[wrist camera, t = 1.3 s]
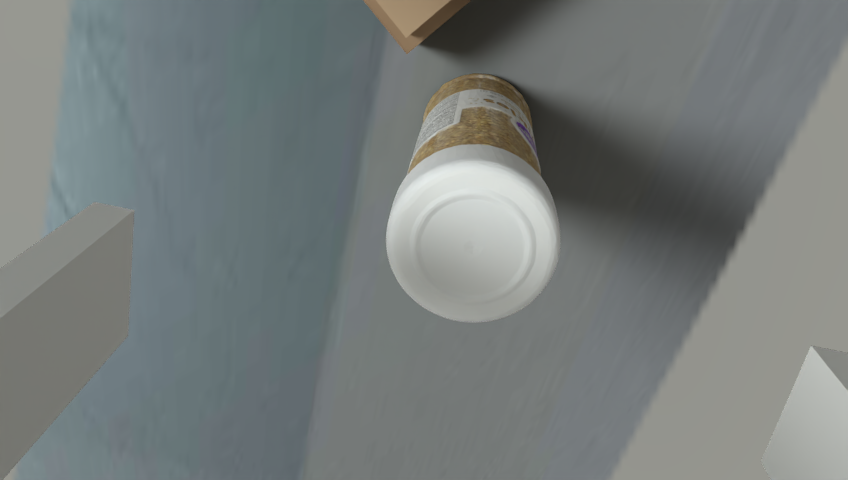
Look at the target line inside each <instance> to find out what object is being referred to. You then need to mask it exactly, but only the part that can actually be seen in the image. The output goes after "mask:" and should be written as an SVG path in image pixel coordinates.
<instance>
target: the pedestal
mask: <svg viewBox="0 0 848 480" xmlns="http://www.w3.org/2000/svg"><path fill="white" fill-rule="evenodd" d="M363 1H364V2H365V3H366V4H367V5H368V7H369V8H370V9H371V10H372V12H373V13H374V14H375V15H376V17H377V18H378V19H379V20H380V22H381V23H382V24H383V25H384V26H385V28H386V29H387V30H388V31H389V33H390V34H391V35H392V36H393V38H394V39H395V40H396V41H397V43H398V44H399V45H400V46H401V48H402V49H403V50H404V51H405V52H406V54H408V53H409V52H410V51H411V50H412V49H414V48H415V47H416V46H417V45H418V44H420V43H421V42H422V41H423V40H424V39H426V38H427V37H428V36H429V35H430V34H432V33H433V32H434V31H435V30H436V29H438V28H439V27H440V26H441V25H442V24H444V23H445V22H446V21H447V20H448V19H450V18H451V17H452V16H453V15H454V14H455V13H457V12H458V11H459V10H460V9H461V8H463V7H464V6H465V5H466V4H467V3H469V2H470V1H471V0H363Z"/></svg>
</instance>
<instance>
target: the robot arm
mask: <svg viewBox="0 0 848 480" xmlns="http://www.w3.org/2000/svg"><path fill="white" fill-rule="evenodd" d="M133 225H134V210H131V209H126V208H121V207H116V206H111V205H106V204H101V203H96V202H94V203H93V204H91V205H90V206H88V207H87V208H85V209H84V210H83V211H81V212H80V213H78V214H77V215H75V216H74V217H73V218H71V219H70V220H68V221H67V222H65V223H64V224H63V225H61V226H60V227H58V228H57V229H55V230H54V231H53V232H51V233H50V234H48V235H47V236H45V237H44V238H43V239H41V240H40V241H38V242H37V243H36V244H34V245H33V246H31V247H30V248H28V249H27V250H26V251H24V252H23V253H21V254H20V255H18V256H17V257H16V258H14V259H13V260H11V261H10V262H8V263H7V264H6V265H4V266H3V267H1V268H0V480H3V479H4V478H5V476H6V475H7V474H8V473H9V472H10V471H11V470H12V469H13V467H14V466H15V465H16V464H17V463H18V462H19V461H20V459H21V458H22V457H23V456H24V455H25V454H26V452H27V451H28V450H29V449H30V448H31V447H32V446H33V444H34V443H35V442H36V441H37V440H38V439H39V438H40V436H41V435H42V434H43V433H44V432H45V431H46V429H47V428H48V427H49V426H50V425H51V424H52V423H53V421H54V420H55V419H56V418H57V417H58V416H59V415H60V413H61V412H62V411H63V410H64V409H65V408H66V406H67V405H68V404H69V403H70V402H71V401H72V400H73V398H74V397H75V396H76V395H77V394H78V393H79V392H80V390H81V389H82V388H83V387H84V386H85V385H86V383H87V382H88V381H89V380H90V379H91V378H92V377H93V375H94V374H95V373H96V372H97V371H98V370H99V369H100V367H101V366H102V365H103V364H104V363H105V362H106V360H107V359H108V358H109V357H110V356H111V355H112V354H113V352H114V351H115V350H116V349H117V348H118V347H119V346H120V344H121V343H122V342H123V341H124V340H125V339H126V337H127V336H128V325H129V305H130V285H131V265H132V245H133ZM761 462H762V464H763V466H764V468H765V470H766V472H767V474H768V476H769V478H770V479H771V480H848V353H846V352H841V351H836V350H831V349H826V348H821V347H816V346H811V348H810V349H809V352H808V354H807V357H806V359H805V361H804V363H803V366H802V368H801V371H800V373H799V375H798V377H797V380H796V382H795V384H794V387H793V389H792V391H791V394H790V396H789V398H788V400H787V403H786V405H785V407H784V409H783V412H782V414H781V417H780V419H779V421H778V424H777V426H776V428H775V431H774V433H773V435H772V437H771V440H770V442H769V444H768V446H767V449H766V451H765V453H764V456H763V458H762V460H761Z"/></svg>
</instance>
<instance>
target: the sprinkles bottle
mask: <svg viewBox="0 0 848 480" xmlns="http://www.w3.org/2000/svg"><path fill="white" fill-rule="evenodd" d="M560 245H561V236H560V226H559V220H558V215H557V211H556V207H555V204H554V200H553V198H552V195H551V193H550V191H549V189H548V187H547V185H546V183H545V182H544V180H543V179H542V177H541V169H540V164H539V160H538V155H537V151H536V145H535V140H534V135H533V131H532V119H531V115H530V110H529V107H528V105H527V103H526V102H525V100H524V98H523V96H522V95H521V94H520V93H519V92H518V91H517V90H516V88H514V87H513V86H512V85H511V84H510V83H508V82H506V81H504V80H502V79H500V78H498V77H496V76H493V75H490V74H469V75H463V76H460V77H458V78H455V79H453V80H451V81H449V82H447V83H445V84H443V85H442V87H441V88H440V89H439V90H438V91H437V92H436V93H435V94H434V95H433V97H432V98H431V100H430V101H429V103H428V105H427V107H426V110H425V113H424V118H423V125H422V128H421V131H420V134H419V137H418V140H417V143H416V146H415V150H414V153H413V157H412V160H411V163H410V166H409V170H408V174H407V176H406V177H405V179H404V180H403V182H402V184H401V185H400V187H399V189H398V192H397V194H396V196H395V199H394V202H393V205H392V209H391V213H390V217H389V221H388V225H387V233H386V246H387V254H388V259H389V262H390V266H391V269H392V271H393V273H394V275H395V277H396V279H397V281H398V282H399V284H400V285H401V287H402V288H403V289H404V290H405V292H406V293H407V294H408V295H409V296H410V297H411V298H412V299H413V300H414V301H416V302H417V303H418V304H419V305H421V306H422V307H424V308H425V309H427V310H429V311H430V312H432V313H434V314H436V315H439V316H441V317H444V318H447V319H451V320H455V321H462V322H486V321H493V320H496V319H500V318H503V317H506V316H509V315H511V314H513V313H515V312H517V311H519V310H521V309H522V308H524V307H525V306H527V305H528V304H529V303H531V302H532V301H533V300H534V299H535V298H536V297H537V296H538V295H539V294H540V293H541V292H542V291H543V290H544V288H545V287H546V285H547V284H548V282H549V281H550V279H551V277H552V275H553V273H554V271H555V269H556V266H557V263H558V259H559V254H560Z"/></svg>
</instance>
